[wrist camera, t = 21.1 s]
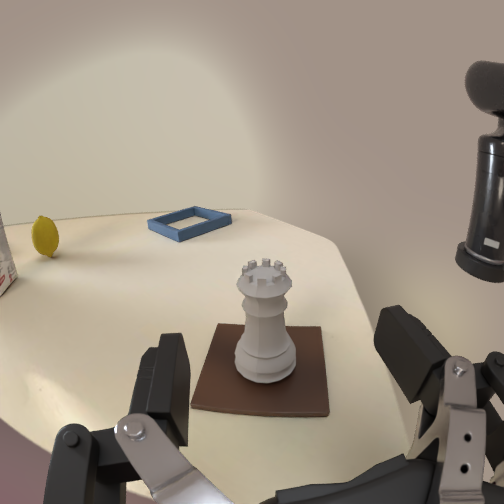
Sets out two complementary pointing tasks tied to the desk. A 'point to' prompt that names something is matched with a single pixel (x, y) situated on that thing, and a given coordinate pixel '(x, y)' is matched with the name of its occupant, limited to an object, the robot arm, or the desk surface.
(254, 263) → the rook chess piece
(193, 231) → the blue tray
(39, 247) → the lemon
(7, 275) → the juice carton
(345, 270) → the desk surface
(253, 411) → the walnut coaster
